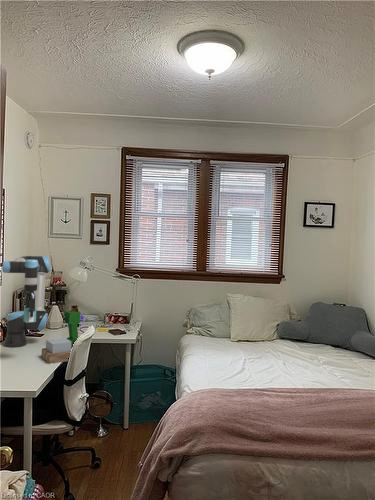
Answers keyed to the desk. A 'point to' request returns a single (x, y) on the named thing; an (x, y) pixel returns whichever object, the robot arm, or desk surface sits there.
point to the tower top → (58, 345)
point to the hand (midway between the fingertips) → (29, 320)
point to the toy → (72, 323)
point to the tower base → (55, 356)
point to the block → (26, 315)
